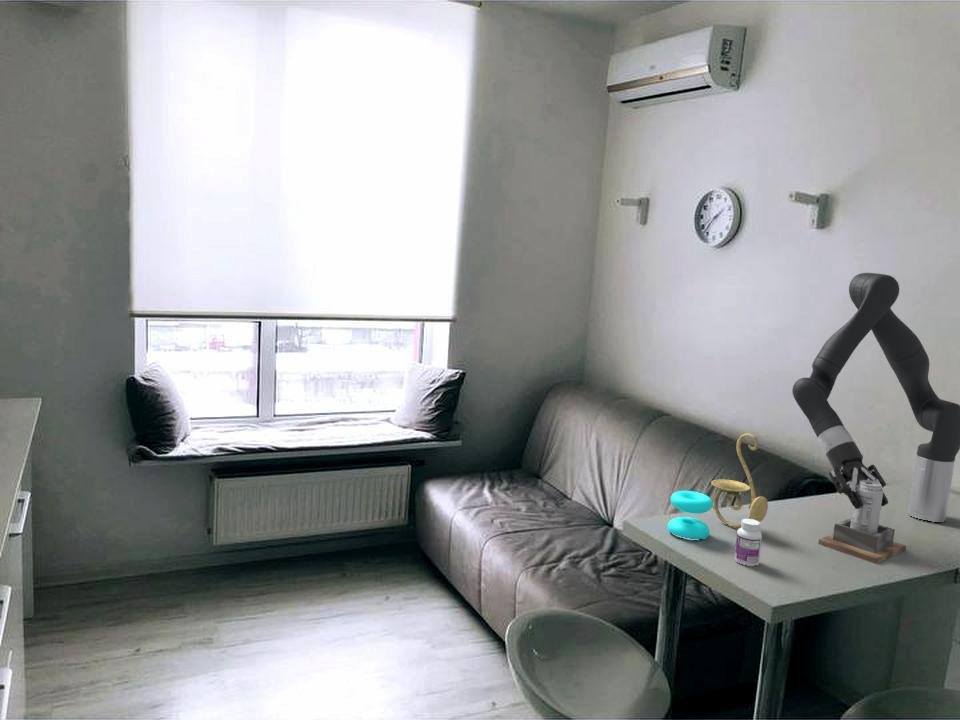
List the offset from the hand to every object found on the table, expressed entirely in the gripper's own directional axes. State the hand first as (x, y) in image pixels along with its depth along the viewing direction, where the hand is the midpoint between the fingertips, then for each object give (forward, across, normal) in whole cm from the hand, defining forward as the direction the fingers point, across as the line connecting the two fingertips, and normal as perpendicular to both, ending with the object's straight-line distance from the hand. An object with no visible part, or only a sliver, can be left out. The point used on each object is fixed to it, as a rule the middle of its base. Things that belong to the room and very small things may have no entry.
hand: (872, 506), depth 193 cm
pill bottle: (+6, -36, +9) cm, 38 cm away
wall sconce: (-7, -23, +23) cm, 33 cm away
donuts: (-6, -38, +22) cm, 45 cm away
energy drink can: (+6, 0, +8) cm, 10 cm away
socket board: (+7, 0, +9) cm, 11 cm away
